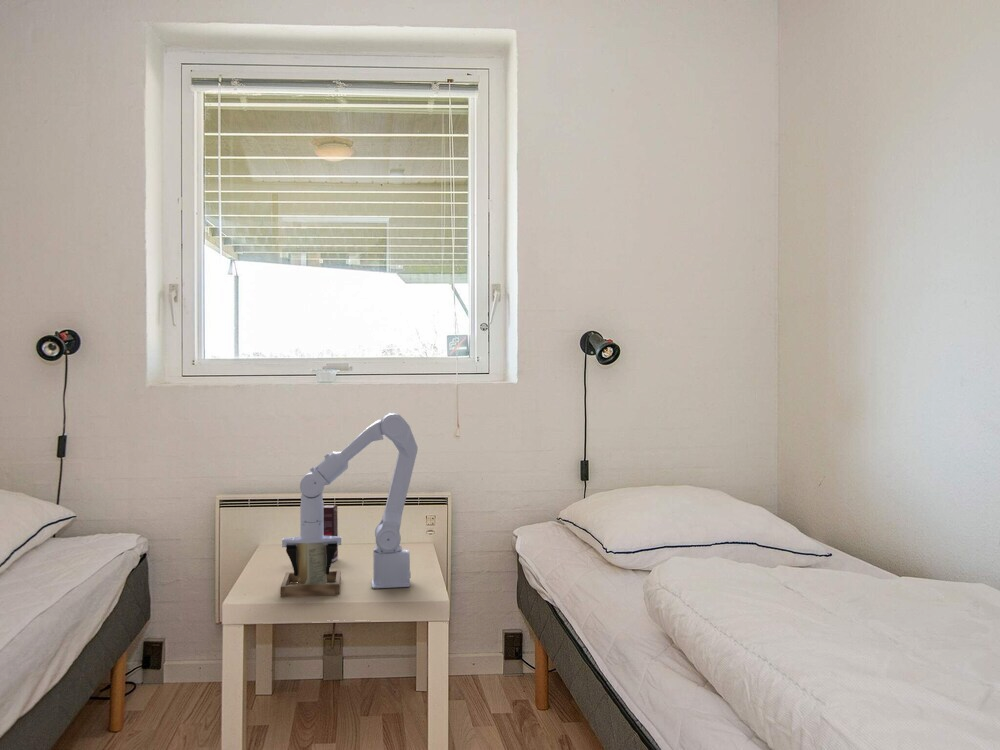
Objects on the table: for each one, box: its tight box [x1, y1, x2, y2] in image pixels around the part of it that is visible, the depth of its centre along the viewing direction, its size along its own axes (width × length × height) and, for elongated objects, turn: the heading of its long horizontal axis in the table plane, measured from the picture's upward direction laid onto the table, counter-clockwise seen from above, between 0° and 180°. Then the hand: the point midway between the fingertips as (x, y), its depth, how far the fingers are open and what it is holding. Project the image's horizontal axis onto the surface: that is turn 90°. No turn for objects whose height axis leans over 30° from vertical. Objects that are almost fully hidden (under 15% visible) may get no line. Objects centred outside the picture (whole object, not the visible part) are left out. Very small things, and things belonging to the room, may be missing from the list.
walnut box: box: [280, 569, 342, 598], centre depth 194 cm, size 14×14×2 cm
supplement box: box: [324, 504, 339, 563], centre depth 224 cm, size 9×5×16 cm, turn 88°
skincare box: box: [297, 543, 328, 585], centre depth 194 cm, size 6×4×12 cm
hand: (312, 574), depth 194 cm, fingers closed on skincare box, 7 cm apart
